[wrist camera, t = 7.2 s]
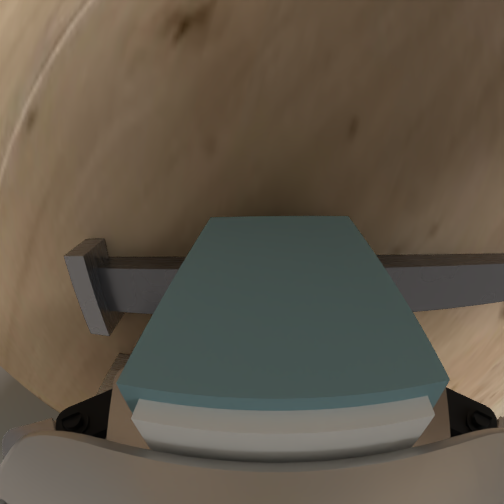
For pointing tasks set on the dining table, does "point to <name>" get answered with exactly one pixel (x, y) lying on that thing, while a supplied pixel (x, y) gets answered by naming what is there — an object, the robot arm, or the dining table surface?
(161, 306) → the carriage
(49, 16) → the dining table surface
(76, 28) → the dining table surface
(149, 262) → the rail
